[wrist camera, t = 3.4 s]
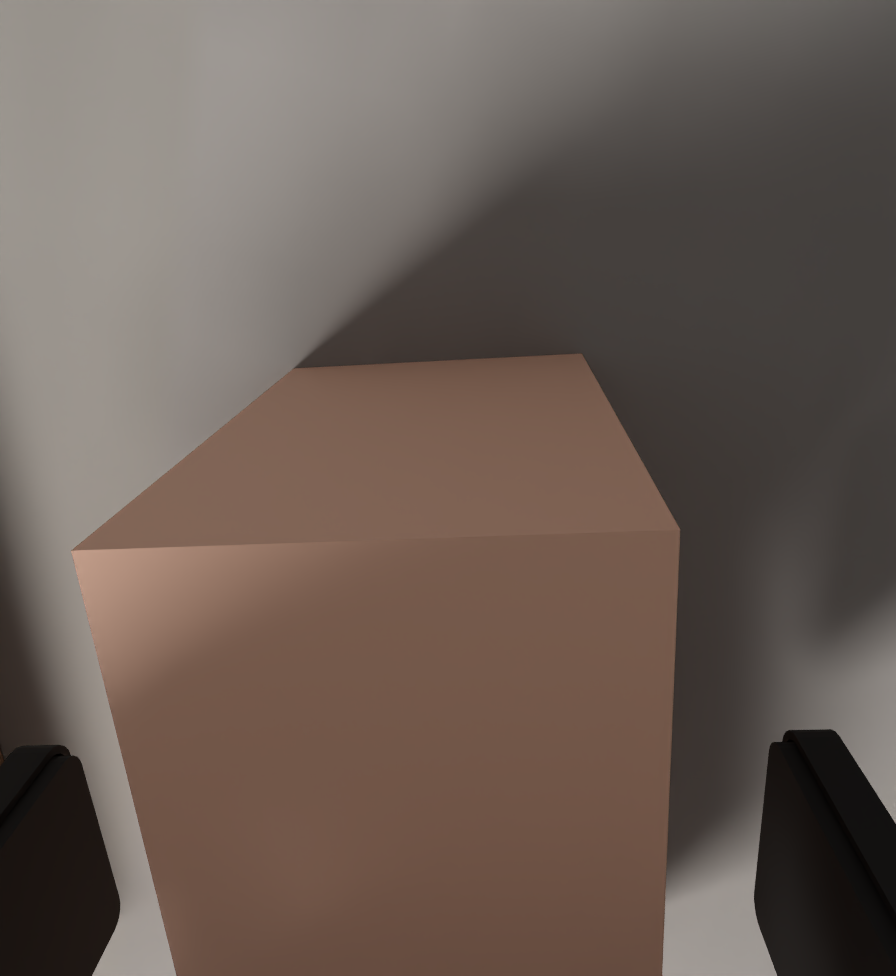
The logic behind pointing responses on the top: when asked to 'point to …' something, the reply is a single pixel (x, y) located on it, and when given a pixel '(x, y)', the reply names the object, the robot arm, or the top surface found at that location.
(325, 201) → the top surface
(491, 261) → the top surface
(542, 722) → the terracotta block
